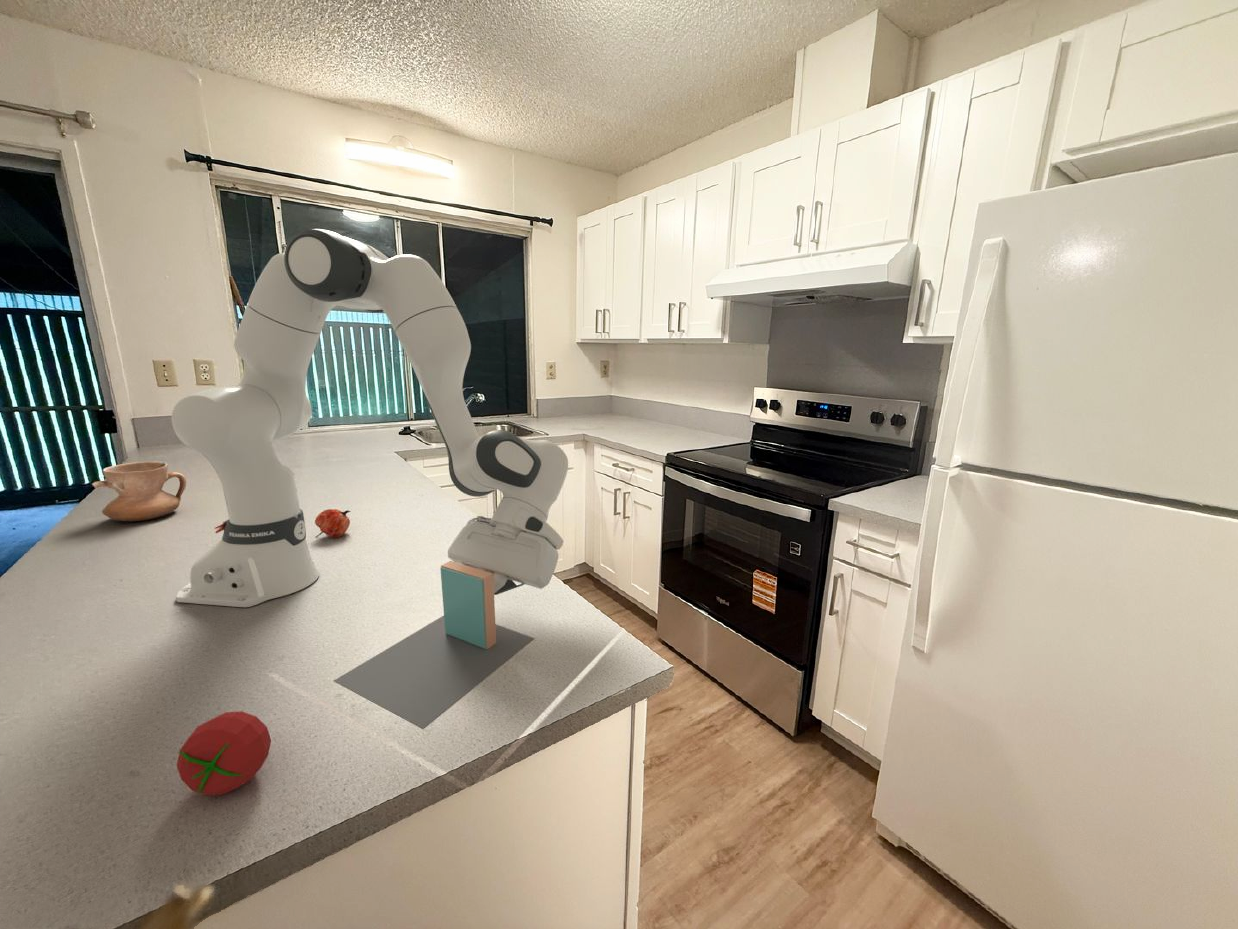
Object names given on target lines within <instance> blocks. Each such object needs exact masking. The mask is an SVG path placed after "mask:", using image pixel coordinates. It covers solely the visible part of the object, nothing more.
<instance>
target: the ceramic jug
mask: <svg viewBox="0 0 1238 929" xmlns="http://www.w3.org/2000/svg"><path fill="white" fill-rule="evenodd" d="M168 466H169V465H168V463H167V462H166V461H164V462H163V461H137V462H129V463H122V464H116V465H111V466H108V467H105V468H103V469H102V471H103V476H104V478H105V481H104V480H99V481H94V482H93V483H91V485H92V487H94V488H95V489H98V488H101V487H105V488H108V489H112V490H114V491H115V492H116V493H117V494H118V496H117V497H116V498H115V499H113V500H111V501H110V502H109V503H107V504H106V506H105V507H104V508H103V509H102V510H101V513H102V514H103V515H104V516H106V517H107V518H109V519H111V520H114V521H118V522H141V521H147V520H152V519H153V520H154V519H157V518H161V517H164V516H166V515H168V514H171V513H173V512H174V511H175V510H177V509H178V507H179V506H180V503H181V500H182V495H183V493H184V491H185V489H186V486H187V480H186V479H187V478H186V477H185V475H184V474H183V473H180V472H175V471H173V472H168V468H169V467H168ZM173 478H177V479H178V481H179V487H178V489H177V491H176V494H175V495H174V494H172V493H169V492H167V491H165V490H163V488H164V484H165V483H166V482H167V481H169V480H170V479H173Z"/></svg>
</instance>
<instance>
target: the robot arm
mask: <svg viewBox="0 0 1238 929" xmlns="http://www.w3.org/2000/svg"><path fill="white" fill-rule="evenodd" d="M455 303H456V302H455V301H454V299H453V297H452V296H451V294H450V292H449V291H448V288H447V287H446V285H445V284H444V283H443V281H442V279H441V278H440V276H439V275H438V273H437V272H436V271H435V270H434V268H433V267H432V266H431V265H430V263H429V262H428V261H427V260H426V259H424V258H422V257H421V256H417V255H414V254H400V255H399V254H398V255H395V256H393V257H391V256H390V255H388V254H387V253H385V252H381V251H380V250H378V249H376V248H375V247H373V246H371V245H369V244H367V243H366V242H363V241H360V240H355V239H352V238H349V237H347V236H343V235H341V234H339V233H337V232H334V231H331V230H327V229H321V228H309V229H303V230H301V231H298V232H296V233H295V234H293V236H292V237H291V238H290V239H289V241H288V242H287V244H286V247H285V250H284V252H280V253H277V254H275V255H273V256H272V257H271V258H270V260H269V261H268V262H267V264H266V265H265V266H264V268H263V269H262V272H261V274H260V275H259V277H258V278H257V281H256V282H255V284H254V287H253V288H252V291H251V293H250V296H249V297H248V302H247V304H246V306H245V309H244V312H243V315H242V317H241V321H240V324H239V327H238V329H237V332H236V335H235V338H234V342H233V348H234V350H235V352H236V354H237V355H238V356H239V358H240V359H242V361H243V373H242V374H243V375H242V379H241V381H240V382H239V383H238V384H236V385H229V386H219V387H210V388H206V389H203V390H200V391H198V392H197V391H196V392H195V393H192V394H190V395H187V396H185V397H184V398H181V399H180V400H179V401H178V402H177V403H176V404H175V406H174V407H173V409H172V412H171V424H172V428H173V432H174V433H175V435H176V436H177V437H178V439H179V441H181V443H183V444H184V445H185V446H186V447H188V448H189V449H192V450H194V451H196V452H198V453H199V454H201V456H203V457H204V458H205V459H206V461H208V463H209V464H210V465H211V467H212V468H213V470H214V472H215V473H216V475H217V477H218V479H219V482H220V483H221V488H222V490H223V496H224V500H225V505H226V511H227V514H228V519H227V520H225V521H223V522H222V524H220V525H217V526H216V527H214V530H216V531H215V532H214V533H215V534H218V533H220V532H222V531H223V534H222V538H221V540H220V541H219V542H217V543H216V544H215V545H213V546H212V547H211V548H210V549H208V550H207V551H205V553H203V554H202V555H201V556H199V558H197V559H196V560H195V561H194V562H193V564H192V566H191V570H190V577H189V579H190V582H188V583H186V585H184V586H183V587H182V588H181V589H180V590H179V591H177V593H176V596H175V597H176V598H175V600H176V602H177V603H184V604H185V603H186V604H197V605H209V606H210V605H211V606H221V607H222V606H223V607H224V606H225V607H235V608H236V607H237V608H249V607H253V606H256V605H258V604H261V603H264V602H266V601H269V600H272V599H276V598H280V597H285V596H287V595H290V594H293V593H296V592H299V591H300V590H303V589H305V588H307V587H309V586H310V585H312V584H313V583H315V582H316V581H317V579H318V578H319V575H320V572H319V570H318V569H317V567H316V565H315V562H314V561H313V558H312V555H311V553H310V550H309V547H308V543H307V530H306V523H305V517H304V512H303V510H302V509H301V506H300V499H299V492H298V486H297V480H296V475H295V472H294V471H293V470H292V469H291V468H290V467H288V466H286V465H283V463H281V462H280V460H279V459H278V457H277V454H276V453H275V450H274V448H273V441H278V440H281V439H285V438H289V437H290V436H292V435H294V434H296V433H297V432H299V431H300V430H302V429H303V428H305V427H306V426H307V425H308V424H309V422H310V421H311V417H312V411H313V410H312V405H311V402H310V399H309V398H308V397H307V395H306V385H307V384H306V382H307V374H308V370H309V366H310V363H311V360H312V357H313V354H314V351H315V349H316V346H317V344H318V341H319V338H320V336H321V334H322V330H323V328H324V325H325V322H326V319H327V317H328V315H329V313H330V311H332V310H333V309H334V308H335V307H337V306H339V307H342V308H346V309H351V310H362V311H367V312H371V313H384V314H385V315H386V317H387V318H388V321H389V322H390V324H391V327H392V328H393V331H394V333H395V335H396V337H397V339H398V341H399V344H400V345H401V347H402V348H403V350H404V353H405V356H406V357H407V359H408V361H409V363H410V365H411V367H412V369H413V371H414V374H415V376H416V378H417V381H418V383H419V385H420V387H421V390H422V393H423V396H424V398H425V401H426V403H427V405H428V407H429V411H430V412H431V415H432V417H433V419H434V422H435V425H436V426H437V429H438V431H439V433H440V436H441V438H442V440H443V444H444V446H445V448H446V449H445V450H446V451H447V458H448V459H447V460H448V472H449V476H450V479H451V482H452V483H453V485H454V486H455V487H456V489H458V490H459V491H460V492H462V493H463V494H465V495H466V496H470V497H476V498H477V497H479V498H480V497H481V498H482V497H484V496H488V495H490V494H491V493H494V492H495V491H497V490H498V491H499V492H501V493H502V498H501V500H500V502H499V503H498V506H497V507H496V509H495V511H494V513H493V515H492V517H485V516H482V515H477V516H476V517H473V518H472V519H469V520H468V521H467V523H466V524H465V526H463V527H462V529H461V530H460V531H459V533H458V534H457V536H456V537H455V538H454V540H453V541H452V543H451V544H450V547H448V550H447V557H448V559H449V560H450V561H453V562H456V563H460V564H463V565H466V566H470V567H473V568H476V569H480V570H483V571H487V572H490V573H493V579H494V580H493V583H494V593H495V592H497V591H498V590H499V589H500V588H502V587H503V586H504V585H505V583H506V581H507V579H509V580H512V581H513V582H517V583H519V584H522V583H523V585H527V586H529V587H530V586H531V587H533V588H537V589H540V590H542V589H543V588H545V587H547V586H548V585H549V583H550V582H551V580H552V578H553V576H554V573H555V570H556V567H557V564H558V561H559V552H558V550H560V549H561V548H562V546H563V544H564V539H563V538H562V536H561V535H560V534H559V533H558V532H557V531H556V530H555V529H554V528H553V527H552V526H551V525H550V524H549V523H547V521H548V518H549V512H550V509H551V507H552V505H553V504H554V503H555V502H556V501H557V500H558V497H559V494H561V490H562V489H563V485H564V483H565V481H566V479H567V475H568V470H569V460H568V456H567V454H566V453H565V452H564V450H563V449H562V448H561V447H560V446H558V445H557V444H556V443H554V442H552V441H550V440H546V439H536V440H535V439H534V440H533V439H528V438H523V437H520V436H518V435H516V434H514V432H513V433H512V432H511V431H508V430H504V429H495V430H492V431H489V432H487V433H485V434H483V435H482V436H480V435H479V433H478V431H477V428H476V425H475V423H474V421H473V417H472V416H471V413H470V411H469V409H468V406H467V404H466V402H465V397H464V392H463V390H464V389H463V384H464V376H465V373H466V372H465V371H466V368H467V365H468V362H469V359H470V356H471V350H472V344H471V339H470V336H469V333H468V332H469V331H468V329H467V326H466V323H465V321H464V319H463V316H462V314H461V313H460V311H459V309H458V307H457V304H455Z"/></svg>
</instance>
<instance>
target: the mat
mask: <svg viewBox="0 0 1238 929" xmlns="http://www.w3.org/2000/svg"><path fill="white" fill-rule="evenodd" d="M495 625H496V643H495V644H494V645H493V646H491V647H490V648H489V649H484V648H481V647H479V646H476V645H474V644H471V643H469V642H466V641H464V640H461V639H459V638H456V637H454V636H451V635H449V634H446V633H445V622H444V615H442V616H440V617H439V618H437V619H435V620H434V621H432V622H430V623H428V624H427V625H425V626H423V627H422V628H420V629H418V630H416V631H415V632H413V633H412V634H410V635H409V636H406V637H405V638H403V639H401V640H400V641H398V642H397V643H395V644H393V645H391V646H390V647H388V648H386V649H385V650H383V651H381V652H379V653H378V654H376V655H374V656H373V657H371V658H369V659H368V660H365V661H364V662H362V663H361V664H359V665H357V666H356V667H354V668H353V669H350V670H349V671H348V672H345V673H344V674H342V675H340V676H339V677H337V678H335V679H334V680H333V682H334V683H337V684H338V685H340V686H342V687H344V688H346V689H347V690H350V691H352V692H354V693H355V694H358V696H359V695H360V696H361V697H363V698H364V699H366V700H369V701H370V702H372V703H373V704H376V705H378V706H379V707H381V708H383V709H386V710H387V711H388V712H391V713H392V714H394V715H396V716H398V717H400V718H402V719H403V720H406V721H407V722H409V723H411V724H412V725H415V726H416V727H418V728H420V729H423V730H424V729H425V728H427V727H428V726H429V725H430V724H431V723H433V722H434V721H435V720H436V719H437V718H439V717H440V716H441V715H442V714H444V712H446V711H447V710H449V709H450V708H451V707H453V705H455V704H456V703H457V702H458V701H460V700H461V699H462V698H463V697H465V696H466V695H467V694H468V693H470V692H471V691H472V690H473V689H474V688H476V687H477V686H479V684H480V683H483V681H485V680H486V679H487V678H488V677H489V676H490V675H491V674H493V673H494V672H495V671H496V670H498V669H499V668H500V667H501V666H503V665H504V664H505V663H506V662H508V661H509V660H510V659H512V658H513V657H514V656H516V654H518V653H519V652H520V651H521V650H522V649H524V648H525V647H527V645H529V644H530V643H531V642H533V641H534V640H535V637H532V636H529V635H526V634H524V633H521V632H518V631H515V630H513V629H511V628H507V627H504V626H502V625H498V624H497V623H495Z"/></svg>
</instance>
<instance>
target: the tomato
mask: <svg viewBox="0 0 1238 929" xmlns="http://www.w3.org/2000/svg"><path fill="white" fill-rule="evenodd" d="M271 744H272V739H271V736H270V733H269V730H268V726H267V725H265V723H263V721H262V720H261V719H260V718H259V717H258V716H256V715H253V714H250V713H247V712H245V711H240V710H239V711H227V712H226V711H225V712H224V713H222V714H219V715H217V716H216V717H213V718H212V719H210V720H207V721H206V722H205V721H204V723H202V724H200V725H198V726H197V727H196V728H195V729H194V730H193V732H192V733H191V734H190V736H188V738H187V739H186V740H185V741H184V744H183V745H182V746H181V747H180V750H179V753H178V758H177V763H176V767H177V770H178V774H179V777H180V780H181V781H182V782H183V783H184V784H185V785H186V786H187V787H188V788H189V789H190V790H191V791H192V792H195V793H198V794H202V795H205V796H207V797H208V796H209V797H210V796H220V795H221V796H222V795H226V794H228V793H230V792H232V791H233V790H235V789H238V788H239V787H241V786H242V785H245V784H246V783H248V782H250V781H251V780H252V779H253V778H254V777H255V775H256V774H257V773H258V772H259V770H260V769H261V768H262V766H263V765H264V763H265V761H266V760H267V759H268V757H269V753H270V749H271Z"/></svg>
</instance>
